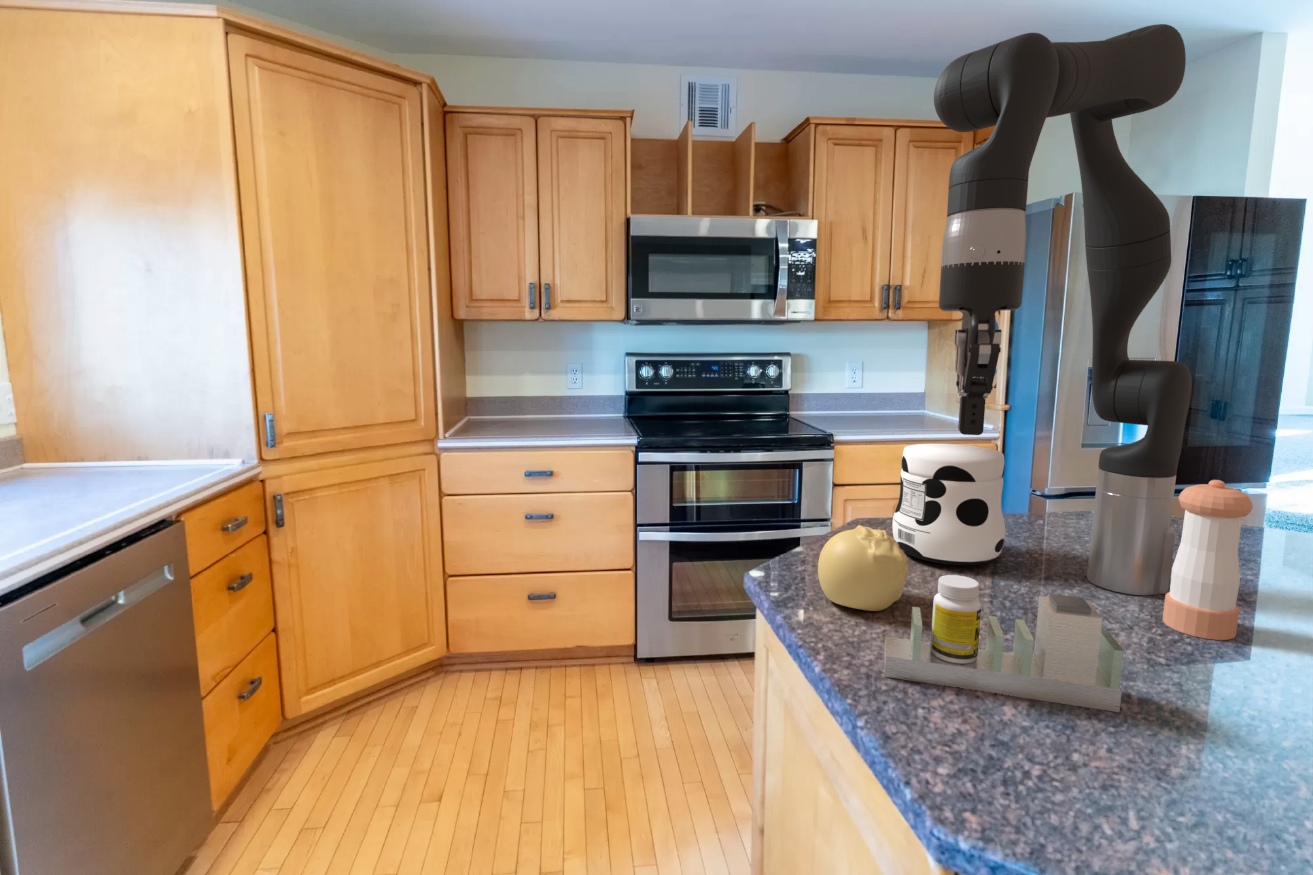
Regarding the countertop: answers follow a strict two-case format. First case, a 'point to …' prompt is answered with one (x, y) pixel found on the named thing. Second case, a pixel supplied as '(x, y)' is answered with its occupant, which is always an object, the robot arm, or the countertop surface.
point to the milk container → (950, 504)
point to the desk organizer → (1026, 658)
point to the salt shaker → (1207, 562)
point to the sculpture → (863, 569)
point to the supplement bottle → (956, 619)
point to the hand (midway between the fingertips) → (970, 433)
